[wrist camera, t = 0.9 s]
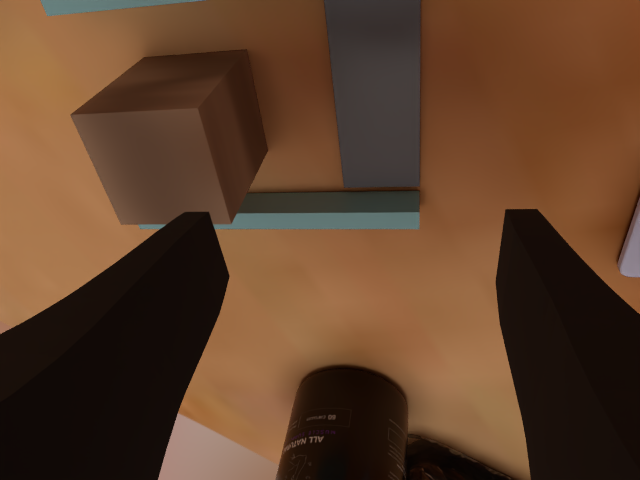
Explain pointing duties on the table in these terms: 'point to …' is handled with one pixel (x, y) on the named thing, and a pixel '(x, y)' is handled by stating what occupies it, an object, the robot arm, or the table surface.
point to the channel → (346, 119)
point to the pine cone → (444, 463)
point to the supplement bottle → (346, 429)
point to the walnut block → (176, 137)
